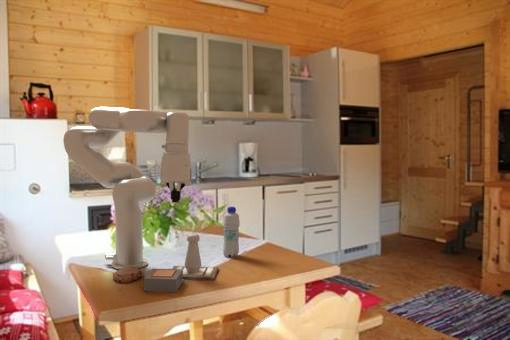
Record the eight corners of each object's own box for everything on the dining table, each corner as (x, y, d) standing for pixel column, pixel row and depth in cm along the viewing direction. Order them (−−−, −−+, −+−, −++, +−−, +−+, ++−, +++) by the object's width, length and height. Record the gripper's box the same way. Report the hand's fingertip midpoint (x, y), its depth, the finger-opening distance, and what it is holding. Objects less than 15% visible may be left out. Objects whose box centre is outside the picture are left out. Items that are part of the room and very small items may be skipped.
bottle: (242, 255, 176) (243, 206, 174) (232, 259, 170) (233, 208, 168) (229, 252, 179) (229, 204, 178) (219, 256, 174) (219, 206, 172)
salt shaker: (197, 274, 148) (198, 236, 147) (182, 273, 149) (182, 235, 148) (203, 269, 153) (203, 233, 152) (188, 268, 154) (188, 232, 153)
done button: (152, 285, 135) (152, 275, 135) (157, 278, 141) (157, 269, 141) (171, 285, 135) (171, 276, 135) (175, 279, 141) (175, 270, 141)
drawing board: (166, 278, 145) (166, 275, 145) (174, 267, 157) (174, 265, 157) (213, 280, 145) (213, 277, 145) (218, 269, 157) (218, 266, 157)
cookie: (110, 284, 140) (110, 275, 139) (113, 274, 150) (113, 266, 150) (142, 283, 142) (142, 274, 142) (143, 273, 152) (143, 264, 152)
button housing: (143, 291, 134) (143, 278, 133) (152, 280, 144) (152, 268, 143) (176, 292, 133) (176, 279, 133) (182, 281, 143) (182, 269, 143)
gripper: (152, 148, 145) (150, 202, 147) (195, 150, 144) (194, 205, 146) (159, 147, 153) (158, 199, 155) (201, 149, 151) (199, 201, 153)
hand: (175, 201), depth 150 cm, fingers closed
